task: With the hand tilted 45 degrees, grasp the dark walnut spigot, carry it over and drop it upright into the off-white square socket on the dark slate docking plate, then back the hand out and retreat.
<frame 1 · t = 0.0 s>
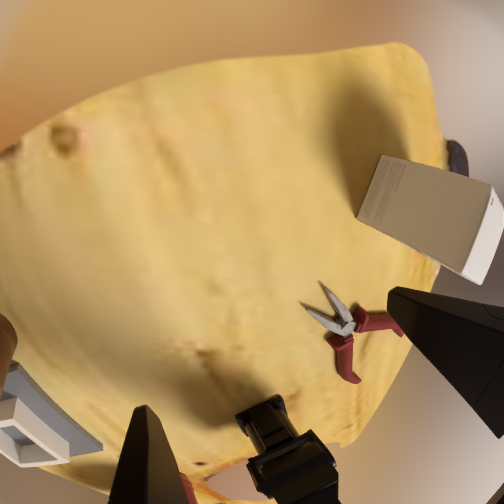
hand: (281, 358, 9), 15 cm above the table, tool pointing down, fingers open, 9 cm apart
supplement box: (387, 198, 28), on the table
pliers: (358, 322, 35), on the table
docking plate: (20, 421, 21), on the table
canister: (152, 481, 34), on the table
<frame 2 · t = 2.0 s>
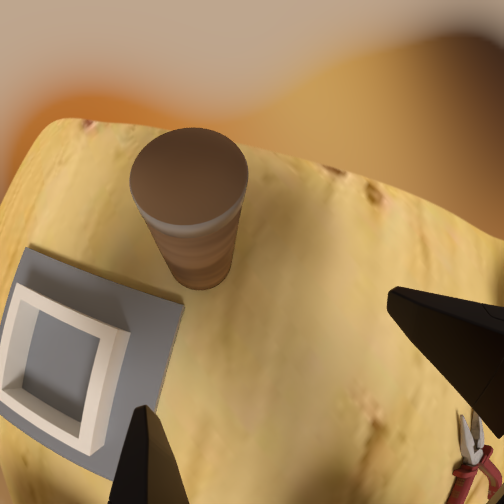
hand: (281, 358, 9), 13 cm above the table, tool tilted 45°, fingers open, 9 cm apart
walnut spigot: (199, 259, 23), on the table
pliers: (472, 470, 18), on the table
docking plate: (68, 367, 18), on the table
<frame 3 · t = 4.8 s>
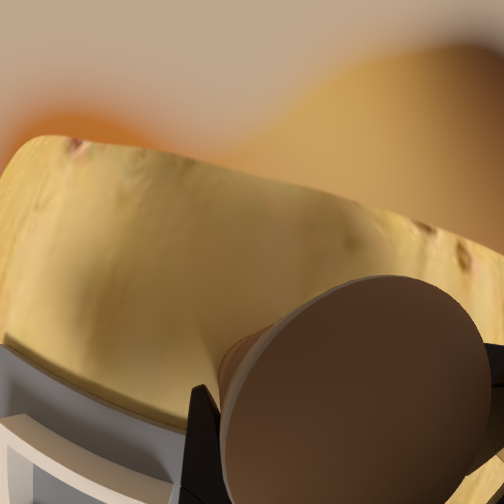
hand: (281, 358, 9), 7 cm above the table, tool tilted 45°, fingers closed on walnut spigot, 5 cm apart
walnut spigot: (265, 378, 14), on the table, touching gripper
docking plate: (89, 503, 10), on the table
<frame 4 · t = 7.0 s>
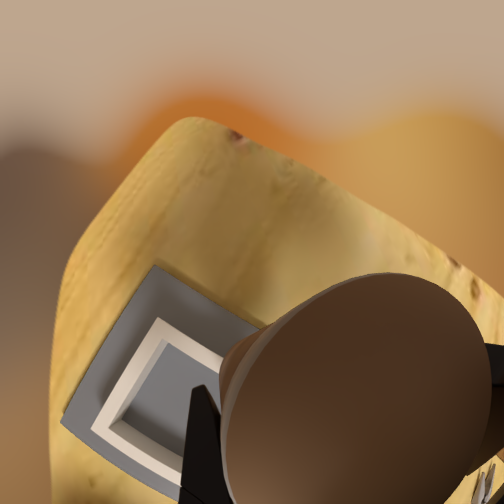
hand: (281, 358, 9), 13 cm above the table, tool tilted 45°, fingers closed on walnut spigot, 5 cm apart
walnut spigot: (265, 378, 14), point 7 cm above the table, touching gripper
docking plate: (189, 407, 19), on the table
when the fingers open (9 cm above the table, at t = 9.0 s): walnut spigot drops 1 cm, resting on docking plate.
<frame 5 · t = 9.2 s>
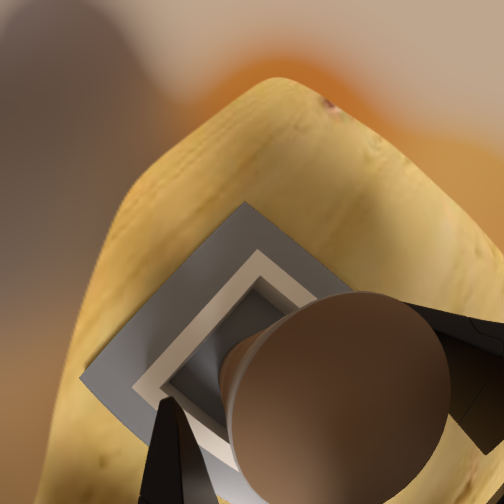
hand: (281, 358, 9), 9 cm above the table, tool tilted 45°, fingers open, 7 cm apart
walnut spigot: (261, 377, 16), point 1 cm above the table, touching docking plate
docking plate: (258, 375, 17), on the table
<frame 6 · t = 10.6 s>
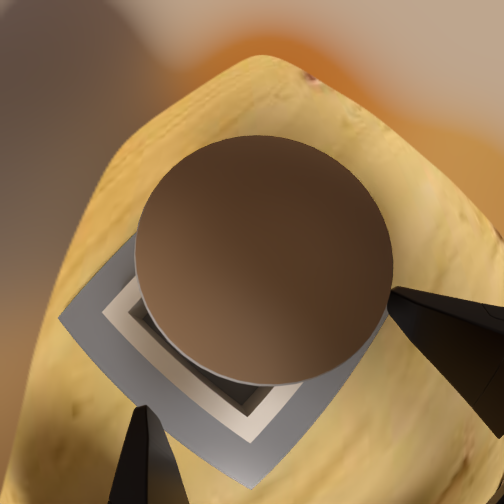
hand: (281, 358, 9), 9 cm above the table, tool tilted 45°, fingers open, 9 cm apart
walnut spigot: (233, 316, 16), point 1 cm above the table, touching docking plate
docking plate: (232, 317, 17), on the table
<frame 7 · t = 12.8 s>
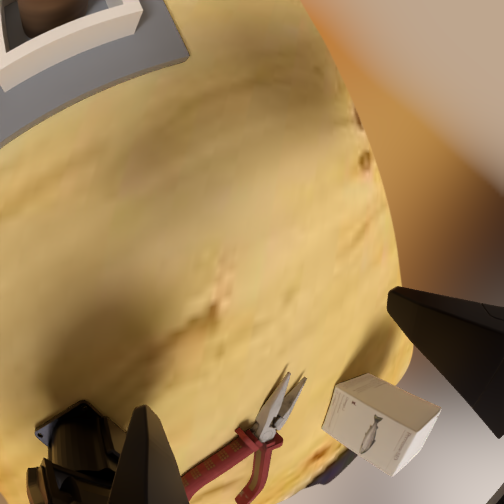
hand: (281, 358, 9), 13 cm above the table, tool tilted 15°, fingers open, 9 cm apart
supplement box: (344, 400, 34), on the table
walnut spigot: (54, 14, 11), point 1 cm above the table, touching docking plate
pliers: (247, 451, 27), on the table
docking plate: (55, 20, 11), on the table
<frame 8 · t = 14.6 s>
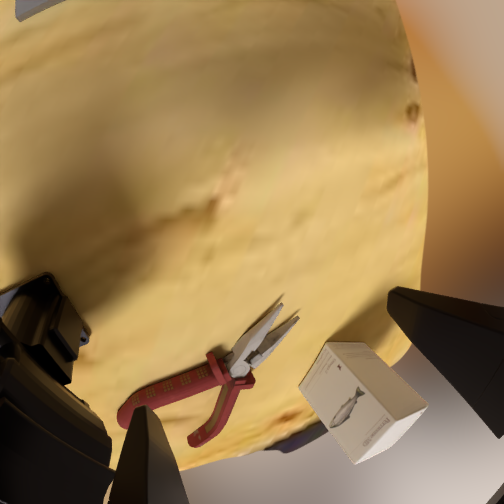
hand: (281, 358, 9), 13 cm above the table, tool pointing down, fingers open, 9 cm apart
supplement box: (330, 363, 33), on the table
pliers: (214, 385, 27), on the table
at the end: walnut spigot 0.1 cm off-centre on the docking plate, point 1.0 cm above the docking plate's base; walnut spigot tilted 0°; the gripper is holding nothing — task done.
